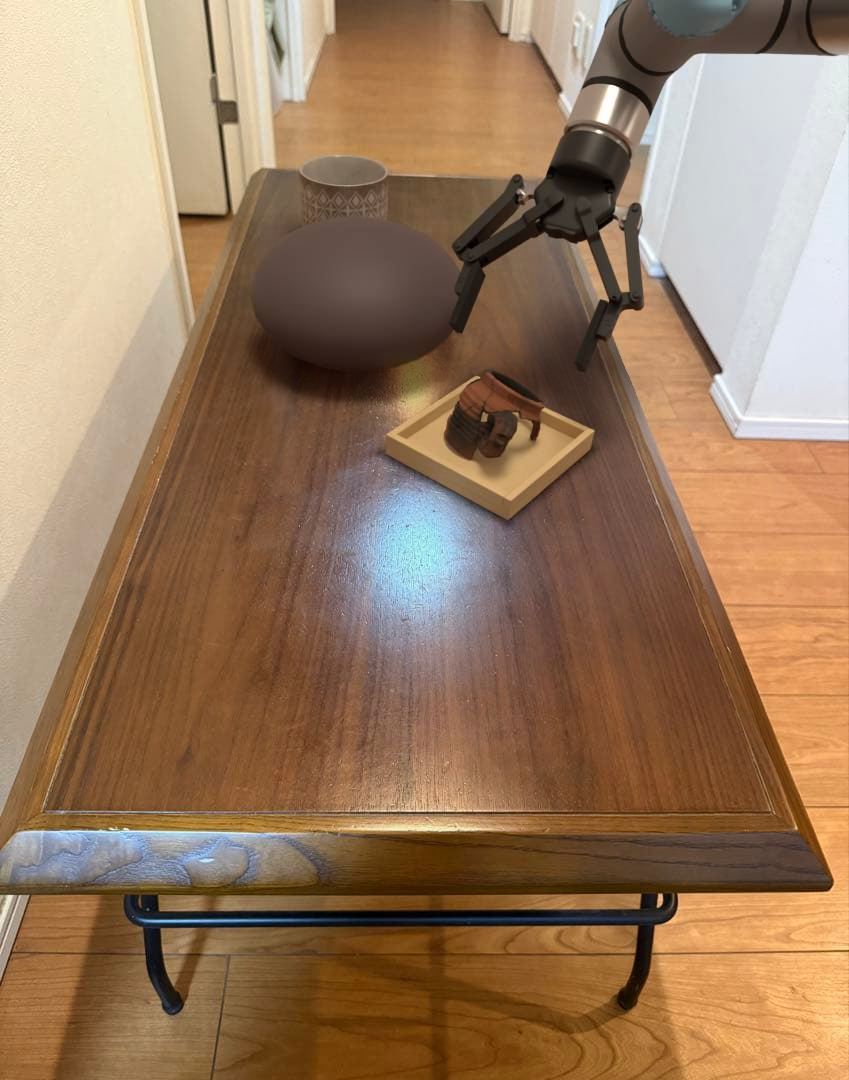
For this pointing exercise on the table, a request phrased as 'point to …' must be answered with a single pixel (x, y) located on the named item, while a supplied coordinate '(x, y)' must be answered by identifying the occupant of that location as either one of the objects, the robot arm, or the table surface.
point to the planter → (342, 188)
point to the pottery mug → (491, 415)
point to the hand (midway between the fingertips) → (515, 348)
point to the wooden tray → (490, 479)
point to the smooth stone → (356, 294)
